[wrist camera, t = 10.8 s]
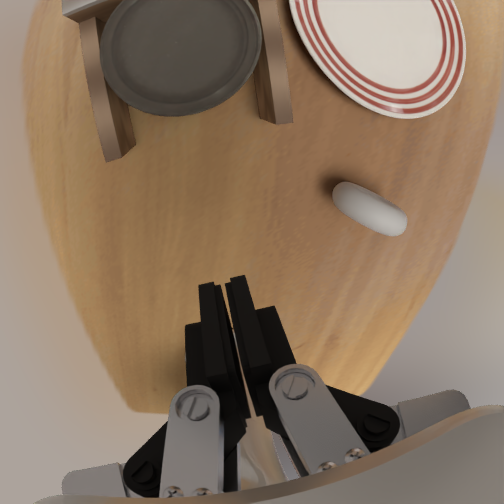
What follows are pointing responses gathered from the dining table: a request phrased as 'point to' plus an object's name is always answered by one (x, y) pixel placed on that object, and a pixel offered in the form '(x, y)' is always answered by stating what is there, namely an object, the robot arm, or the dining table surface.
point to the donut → (369, 209)
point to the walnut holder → (115, 109)
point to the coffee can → (179, 53)
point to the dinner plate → (386, 51)
